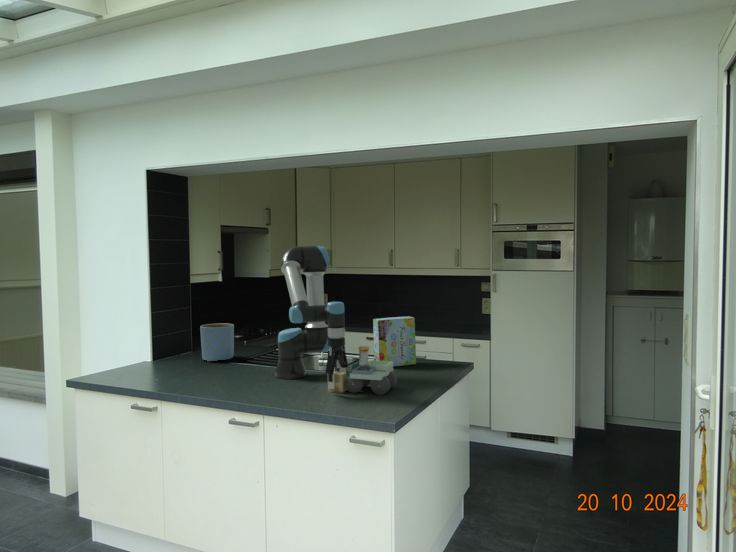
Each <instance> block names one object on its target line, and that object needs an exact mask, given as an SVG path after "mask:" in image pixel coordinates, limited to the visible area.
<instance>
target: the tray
mask: <svg viewBox="0 0 736 552" xmlns="http://www.w3.org/2000/svg"><path fill="white" fill-rule="evenodd" d="M369 367H374V368H376V371H385V372H387V371H388V370H390V369H391V368H392V367H393V361H375V360H369ZM393 368H394V367H393Z"/></svg>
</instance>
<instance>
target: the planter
mask: <svg viewBox="0 0 736 552" xmlns="http://www.w3.org/2000/svg"><path fill="white" fill-rule="evenodd" d="M199 330H200V346H201V359H202V360H203V361H204V360H207V362H217V361H218V360H225V359H229V360H231V359H233V358H234V357H233V356H234V355H235V353H234V351H235V349H234V348H235V343H234V342H235V324H233V323H228V322H226V323H225V322H224V323H207V324H202V325H200V327H199ZM218 362H219V361H218Z"/></svg>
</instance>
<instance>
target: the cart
mask: <svg viewBox="0 0 736 552" xmlns="http://www.w3.org/2000/svg"><path fill="white" fill-rule="evenodd" d="M397 383H398V378H397V374H396V373H395V371H394V367H392V368H391V369H390V370H388V371H387V372H385V371H376V368H374V367H369V371H363V370H359V367H357V368H355V369H353V370H352V373H350V375H349V376H348V377H347V378H346V380H345V387H346V389H347V390H346V391H348V392H349V393H351V394H356V393H359V391H362V390H363V388H365V387H367V386H368V385H370V389H371V391H372V392H373V393H374V394H376V395H378V396H382V395H385V394H387V392H388V391H390V390H391V389H392V388H394V387H395V386H396V385H397Z"/></svg>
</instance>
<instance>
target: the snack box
mask: <svg viewBox="0 0 736 552" xmlns="http://www.w3.org/2000/svg"><path fill="white" fill-rule="evenodd" d="M415 322H416V321H415V317H413V316H409V315H408V316H397V317H394V316H393V317H381V318H373V319H372V325H373V327H372V329H373V330H372V331H373V353H374V360H375V361H393V368H394V367H401V366H412V365H417V351H416V349H417V347H416V346H417V345H416V323H415Z"/></svg>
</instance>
